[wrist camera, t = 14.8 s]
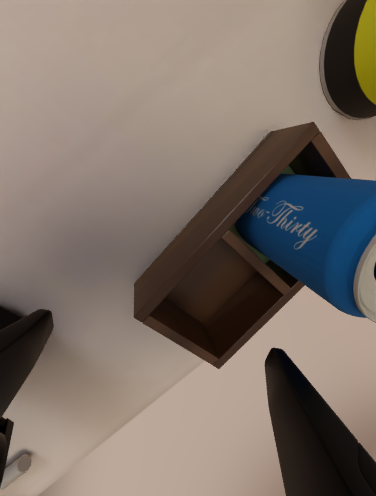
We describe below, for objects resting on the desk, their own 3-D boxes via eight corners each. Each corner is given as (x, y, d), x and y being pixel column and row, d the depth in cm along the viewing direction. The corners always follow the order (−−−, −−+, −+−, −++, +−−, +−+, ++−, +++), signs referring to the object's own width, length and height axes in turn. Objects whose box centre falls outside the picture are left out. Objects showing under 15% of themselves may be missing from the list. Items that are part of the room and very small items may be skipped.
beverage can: (251, 161, 19) (413, 159, 8) (312, 187, 21) (513, 216, 10) (221, 235, 21) (319, 320, 9) (281, 253, 22) (421, 342, 11)
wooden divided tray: (326, 204, 23) (376, 215, 18) (203, 330, 25) (219, 369, 20) (270, 131, 19) (314, 121, 14) (134, 283, 21) (133, 317, 17)
